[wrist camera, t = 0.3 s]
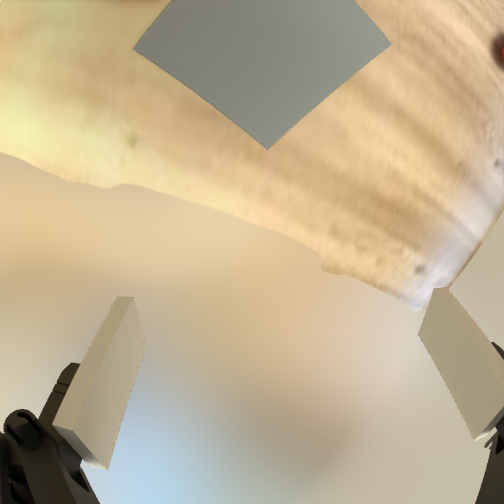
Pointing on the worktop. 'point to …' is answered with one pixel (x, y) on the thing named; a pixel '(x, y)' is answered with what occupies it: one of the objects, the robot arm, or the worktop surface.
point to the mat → (262, 55)
